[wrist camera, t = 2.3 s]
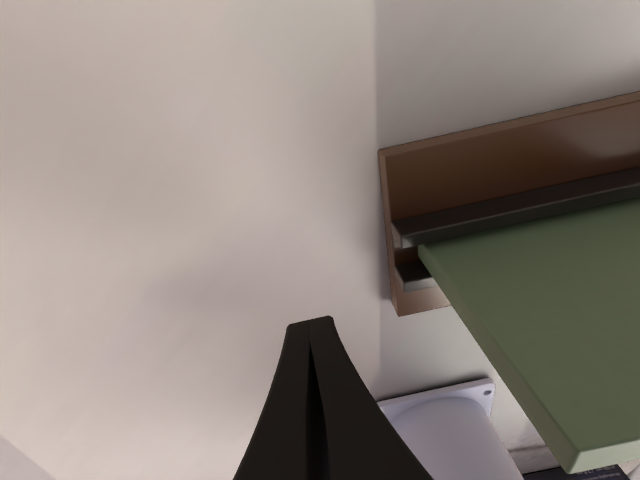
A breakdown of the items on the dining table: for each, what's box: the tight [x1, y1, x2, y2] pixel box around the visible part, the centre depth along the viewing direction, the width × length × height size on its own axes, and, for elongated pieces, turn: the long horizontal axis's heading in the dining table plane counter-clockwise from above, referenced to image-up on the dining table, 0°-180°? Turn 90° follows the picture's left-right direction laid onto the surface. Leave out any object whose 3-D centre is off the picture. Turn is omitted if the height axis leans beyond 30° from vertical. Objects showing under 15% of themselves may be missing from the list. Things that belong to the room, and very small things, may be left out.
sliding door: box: [418, 197, 640, 474], centre depth 9 cm, size 2×10×8 cm, turn 101°
